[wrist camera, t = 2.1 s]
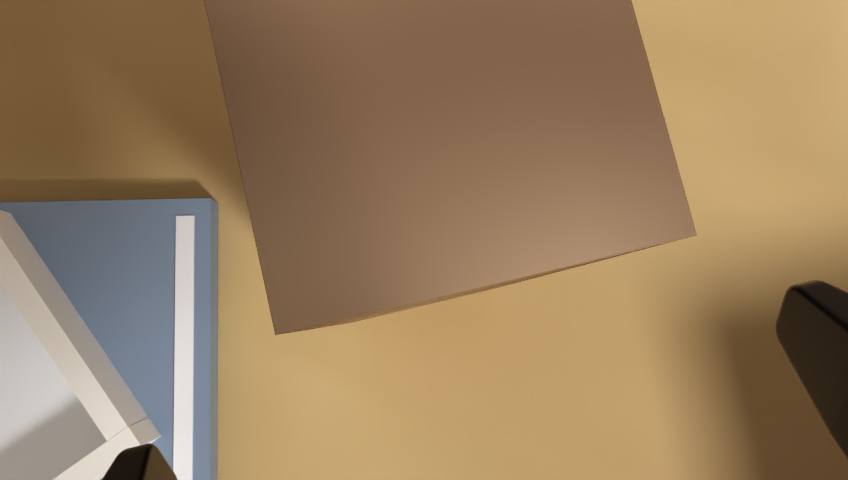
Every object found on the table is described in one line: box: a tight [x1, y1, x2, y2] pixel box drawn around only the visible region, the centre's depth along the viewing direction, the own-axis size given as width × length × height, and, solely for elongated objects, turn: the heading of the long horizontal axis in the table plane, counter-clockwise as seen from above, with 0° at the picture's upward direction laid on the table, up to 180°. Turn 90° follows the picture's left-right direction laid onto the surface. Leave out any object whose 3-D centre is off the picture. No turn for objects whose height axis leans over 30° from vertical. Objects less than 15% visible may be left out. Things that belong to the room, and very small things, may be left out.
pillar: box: [204, 0, 697, 335], centre depth 14 cm, size 4×4×13 cm
